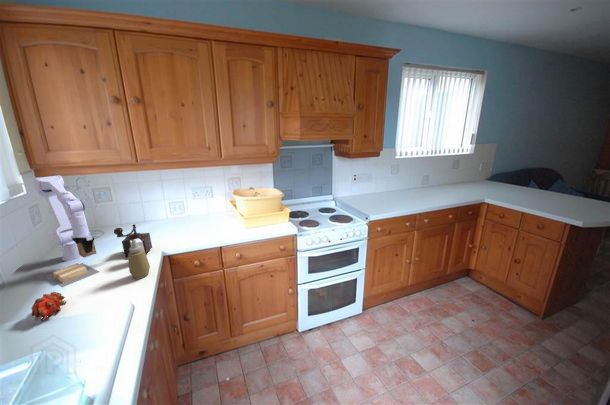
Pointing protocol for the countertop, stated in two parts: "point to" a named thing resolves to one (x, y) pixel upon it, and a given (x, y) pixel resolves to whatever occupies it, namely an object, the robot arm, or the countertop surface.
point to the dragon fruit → (48, 305)
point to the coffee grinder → (126, 242)
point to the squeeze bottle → (138, 261)
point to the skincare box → (138, 243)
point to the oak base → (70, 273)
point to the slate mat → (89, 271)
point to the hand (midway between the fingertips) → (86, 251)
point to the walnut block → (82, 251)
